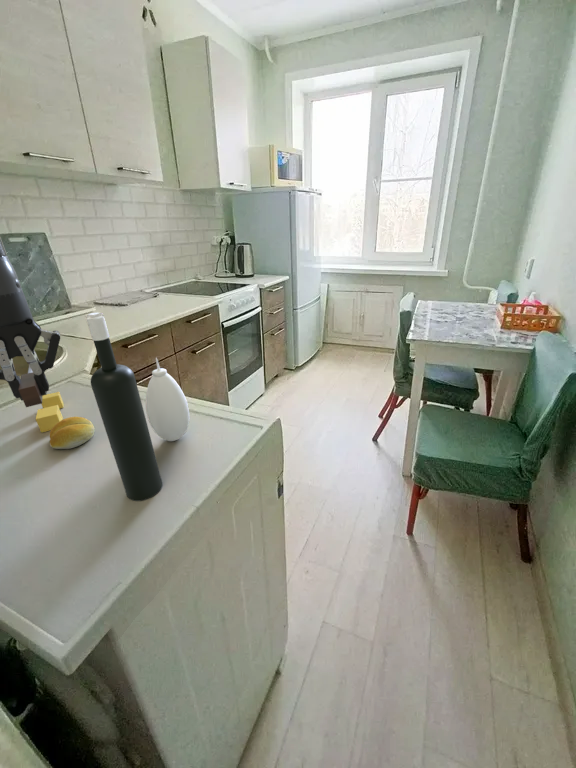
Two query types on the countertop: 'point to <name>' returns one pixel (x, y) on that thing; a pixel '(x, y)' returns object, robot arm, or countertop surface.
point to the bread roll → (71, 433)
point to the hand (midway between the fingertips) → (34, 395)
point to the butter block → (48, 418)
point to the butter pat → (52, 400)
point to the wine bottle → (123, 417)
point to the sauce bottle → (166, 406)
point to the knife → (29, 389)
